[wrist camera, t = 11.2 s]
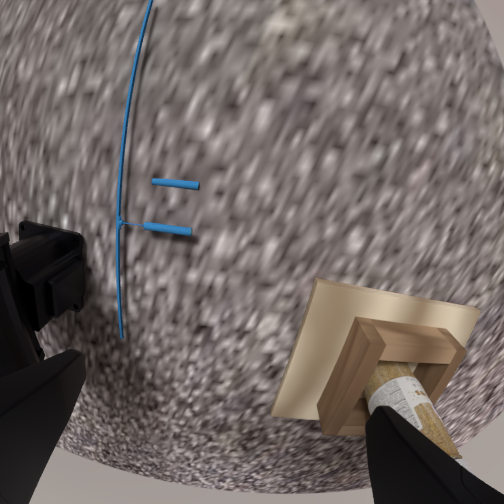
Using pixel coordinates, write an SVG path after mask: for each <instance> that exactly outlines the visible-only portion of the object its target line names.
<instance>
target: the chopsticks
mask: <svg viewBox="0 0 504 504" xmlns="http://www.w3.org/2000/svg"><path fill="white" fill-rule="evenodd" d="M152 3H153V0H149V3H148V7H147V10H146V14H145V18H144V21H143V25H142V29H141V33H140V37H139V41H138V46H137V50H136V55H135V60H134V64H133V70H132V75H131V80H130V86H129V92H128V98H127V104H126V111H125V118H124V125H123V134H122V142H121V152H120V163H119V175H118V191H117V213H116V278H117V301H118V316H119V329H120V339H123V338H124V335H123V323H122V308H121V287H120V229H121V225H123V224H131V223H126V222H124V221H123V220H121V216H120V213H121V192H122V177H123V164H124V153H125V144H126V135H127V127H128V119H129V112H130V105H131V99H132V93H133V87H134V81H135V76H136V70H137V65H138V60H139V55H140V51H141V46H142V42H143V38H144V33H145V29H146V25H147V22H148V18H149V14H150V10H151V7H152ZM152 184H153V185H161V186H170V187H178V188H187V189H196V190H198V184H199V182H192V181H182V180H170V179H155V178H153V179H152ZM132 225H138V224H132ZM140 226H143V227H144V230H151V231H158V232H165V233H172V234H180V235H187V236H191V235H192V228H187V227H179V226H172V225H165V224H157V223H149V222H145V224H144V225H140Z"/></svg>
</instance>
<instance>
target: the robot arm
mask: <svg viewBox="0 0 504 504" xmlns="http://www.w3.org/2000/svg"><path fill="white" fill-rule="evenodd" d="M24 226H25V228H24ZM75 238H77V242H76V241H75ZM9 241H10V239H9V234H8V232H5V233H0V504H29V502H30V499H31V497H32V495H33V493H34V490H35V488H36V486H37V484H38V482H39V479H40V477H41V475H42V473H43V471H44V469H45V467H46V464H47V463H48V460H49V458H50V456H51V454H52V452H53V450H54V448H55V446H56V444H57V442H58V440H59V438H60V436H61V434H62V433H63V431H64V429H65V427H66V425H67V423H68V421H69V419H70V417H71V414H72V412H73V409H74V406H75V404H76V401H77V399H78V396H79V394H80V391H81V389H82V386H83V384H84V381H85V379H86V368H85V360H84V355H83V353H82V352H79V351H77V350H74V349H69V350H66V351H64V352H62V353H59V354H57V355H55V356H52V357H50V358H48V359H45V360H44V357H45V353H44V351H43V349H42V348H41V347H40V344H39V342H38V339H37V337H36V334H35V331H37V332H39V331H40V330H41V329H42V328H43V327H44V326H45V325H46V324H47V323H48V322H49V321H50V320H51V319H52V318H55V319H57V318H58V317H59V316H61V315H62V314H63V313H64V312H65V311H66V310H67V309H69V310H72V311H75V312H80V311H81V310H82V309H83V294H84V265H83V262H82V251H83V238H82V236H81V234H80V233H78V232H73V231H69V230H64V229H60V228H56V227H51V226H47V225H43V224H39V223H34V222H30V221H26V220H25V221H22V222H20V224H19V241H18V242H16V243H14V244H12V245H9ZM76 304H77V305H78V307H77V306H76ZM34 330H35V331H34ZM365 434H366V446H367V460H368V469H369V475H370V481H371V486H372V492H373V498H374V504H504V494H502V493H500V492H499V491H497V490H495V489H494V488H492V487H491V486H489V485H488V484H486V483H485V482H483V481H482V480H480V479H479V478H477V477H476V476H475V475H473V474H472V473H471V472H469V471H468V470H467V469H466V468H464V467H463V466H462V465H460V464H459V463H458V462H457V461H456V460H454V459H453V458H452V457H451V456H450V455H448V454H447V453H446V452H445V451H443V450H442V449H441V448H440V447H439V446H437V445H436V444H435V443H434V442H432V441H431V440H430V439H429V438H428V437H426V436H425V435H424V434H423V433H422V432H420V431H419V430H418V429H417V428H416V427H414V426H413V425H412V424H411V423H410V422H408V421H407V420H406V419H405V418H404V417H402V416H401V415H400V414H399V413H398V412H396V411H395V410H394V409H393V408H392V407H390V406H388V405H379V406H377V407H376V408H375V409H374V411H373V413H372V414H371V416H370V417H369V419H368V420H367V422H366V425H365Z"/></svg>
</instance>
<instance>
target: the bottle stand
mask: <svg viewBox="0 0 504 504" xmlns="http://www.w3.org/2000/svg"><path fill="white" fill-rule="evenodd" d="M480 313H481V311H480V310H479V309H477V308H475V307H470V306H464V305H458V304H453V303H447V302H442V301H436V300H431V299H425V298H420V297H414V296H409V295H403V294H398V293H393V292H387V291H382V290H377V289H371V288H366V287H361V286H355V285H350V284H345V283H340V282H335V281H329V280H324V279H319V278H315V281H314V285H313V288H312V291H311V294H310V298H309V301H308V304H307V307H306V310H305V313H304V316H303V320H302V323H301V326H300V329H299V332H298V335H297V338H296V341H295V344H294V346H293V349H292V352H291V355H290V358H289V361H288V364H287V367H286V369H285V372H284V375H283V378H282V380H281V383H280V386H279V389H278V391H277V394H276V397H275V399H274V402H273V404H272V407H271V416H275V417H285V418H295V419H308V420H320V424H321V429H322V433H323V435H366V434H365V425H366V422H367V420H368V419H369V417H370V416H371V415H370V412H369V409H368V404H367V402H366V399H365V396H364V394H363V390H364V388H365V387H366V385H367V383H368V381H369V379H370V377H371V375H372V373H373V371H374V369H375V367H376V365H377V363H378V361H379V360H384V361H398V362H407V363H408V366H409V368H410V369H411V371H412V372H413V374H414V376H415V377H416V379H417V380H418V381H419V382H420V384H421V386H422V387H423V389H424V391H425V392H426V394H427V396H428V397H429V399H430V401H431V402H432V404H433V406H434V405H435V403H436V402H437V400H438V399H439V397H440V396H441V394H442V392H443V391H444V389H445V388H446V386H447V385H448V383H449V381H450V380H451V378H452V376H453V375H454V373H455V371H456V370H457V368H458V366H459V364H460V363H461V361H462V359H463V357H464V355H465V354H466V352H467V351H466V350H465V348H464V346H465V344H466V342H467V340H468V338H469V336H470V334H471V332H472V330H473V328H474V326H475V324H476V322H477V319H478V317H479V315H480Z"/></svg>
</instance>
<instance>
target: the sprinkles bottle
mask: <svg viewBox="0 0 504 504" xmlns="http://www.w3.org/2000/svg"><path fill="white" fill-rule="evenodd" d="M363 394H364V396H365V399H366V402H367V404H368V409H369V412H370V415H371V414H372V413H373V411H374V409H375V408H376V407H377V406H379V405H388V406H390V407H392V408H393V409H394V410H395V411H396V412H398V413H399V414H400V415H401V416H402V417H404V418H405V419H406V420H407V421H408V422H410V423H411V424H412V425H413V426H414V427H416V428H417V429H418V430H419V431H420V432H422V433H423V434H424V435H425V436H426V437H428V438H429V439H430V440H431V441H432V442H434V443H435V444H436V445H437V446H439V447H440V448H441V449H442V450H443V451H445V452H446V453H447V454H448V455H450V456H451V457H452V458H453V459H454V460H456V461H457V462H458V463H459V464H460V465H462V466H463V467H464V468H466V469H467V470H468V471H469V472H471V473H472V474H473V472H472V470H471V468H470V466H469V464H468V462H467V461H466V460H465V459H462V456H461V455H459V452H458V451H457V449H456V447H455V445H454V443H453V441H452V439H451V437H450V435H449V434H448V432H447V430H446V428H445V427H444V424H443V422H442V420H441V418H440V416H439V415H438V413H437V411H436V409H435V407H434V406H433V404H432V402H431V401H430V399H429V397H428V396H427V394H426V392H425V391H424V389H423V387H422V386H421V384H420V382H419V381H418V380H417V379H416V377H415V376H414V374H413V372H412V371H411V369H410V368H409V366H408V363H407V362H398V361H384V360H379V361H378V363H377V365H376V367H375V369H374V371H373V373H372V375H371V377H370V379H369V381H368V383H367V385H366V387H365V388H364V390H363ZM473 475H474V474H473Z"/></svg>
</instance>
